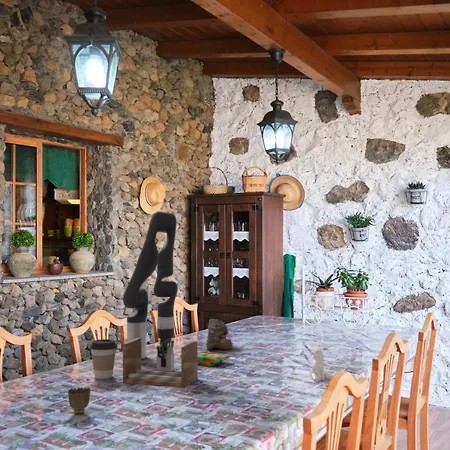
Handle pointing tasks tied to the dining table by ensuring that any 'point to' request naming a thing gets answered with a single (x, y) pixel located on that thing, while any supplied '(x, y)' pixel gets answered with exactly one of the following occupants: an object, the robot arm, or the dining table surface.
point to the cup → (79, 399)
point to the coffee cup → (103, 357)
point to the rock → (217, 335)
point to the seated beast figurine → (318, 367)
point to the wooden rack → (136, 375)
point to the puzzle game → (210, 358)
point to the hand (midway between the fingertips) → (165, 365)
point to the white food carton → (167, 361)
